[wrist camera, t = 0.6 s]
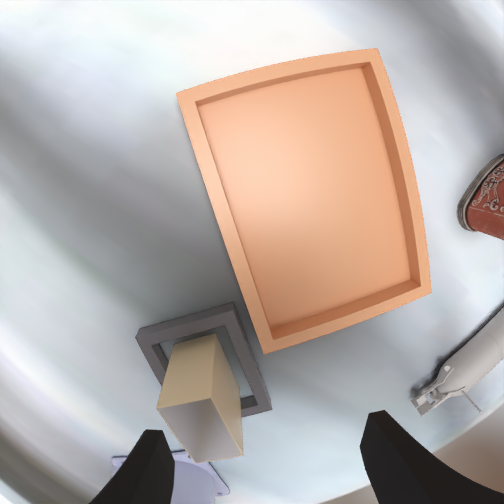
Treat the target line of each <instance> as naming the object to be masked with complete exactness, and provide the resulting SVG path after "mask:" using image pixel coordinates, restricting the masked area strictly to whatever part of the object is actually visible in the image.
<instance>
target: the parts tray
mask: <svg viewBox="0 0 504 504" xmlns="http://www.w3.org/2000/svg"><path fill="white" fill-rule="evenodd" d="M176 96H177V99H178V102H179V105H180V108H181V112H182V115H183V118H184V121H185V124H186V127H187V130H188V134H189V137H190V140H191V143H192V146H193V149H194V152H195V155H196V158H197V162H198V165H199V168H200V171H201V174H202V177H203V180H204V183H205V186H206V189H207V192H208V195H209V198H210V201H211V204H212V207H213V210H214V213H215V216H216V219H217V222H218V225H219V228H220V231H221V234H222V237H223V240H224V242H225V245H226V248H227V251H228V254H229V257H230V260H231V263H232V266H233V269H234V271H235V274H236V277H237V280H238V283H239V286H240V289H241V292H242V294H243V297H244V300H245V303H246V306H247V309H248V311H249V314H250V317H251V320H252V323H253V325H254V328H255V331H256V334H257V337H258V339H259V342H260V345H261V348H262V350H263V353H264V354H267V353H271V352H274V351H277V350H281V349H284V348H287V347H290V346H293V345H296V344H299V343H303V342H306V341H309V340H312V339H315V338H318V337H320V336H323V335H326V334H329V333H332V332H335V331H338V330H340V329H343V328H346V327H349V326H351V325H354V324H357V323H359V322H362V321H365V320H367V319H370V318H372V317H375V316H378V315H380V314H383V313H385V312H388V311H390V310H393V309H395V308H397V307H400V306H402V305H405V304H407V303H409V302H412V301H414V300H416V299H419V298H421V297H423V296H426V295H428V294H430V293H431V280H430V269H429V259H428V250H427V242H426V234H425V227H424V220H423V214H422V208H421V202H420V197H419V191H418V186H417V181H416V176H415V172H414V167H413V163H412V158H411V154H410V150H409V146H408V142H407V138H406V134H405V130H404V127H403V123H402V120H401V116H400V113H399V109H398V106H397V103H396V100H395V96H394V93H393V90H392V87H391V84H390V81H389V78H388V76H387V73H386V70H385V67H384V64H383V62H382V59H381V56H380V54H379V51H378V49H377V48H374V49H364V50H355V51H347V52H340V53H333V54H326V55H320V56H314V57H308V58H303V59H298V60H293V61H288V62H283V63H279V64H274V65H270V66H265V67H261V68H257V69H253V70H249V71H246V72H242V73H238V74H235V75H231V76H227V77H224V78H221V79H217V80H214V81H211V82H208V83H204V84H201V85H198V86H195V87H192V88H189V89H186V90H184V91H181V92H178V93H176Z"/></svg>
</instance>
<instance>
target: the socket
mask: <svg viewBox="0 0 504 504" xmlns="http://www.w3.org/2000/svg"><path fill="white" fill-rule="evenodd" d="M224 325H225V327H226V329H227V332H228V334H229V337H230V339H231V342H232V344H233V347H234V349H235V351H236V354H237V356H238V359H239V361H240V364H241V366H242V368H243V371H244V373H245V375H246V378H247V380H248V383H249V385H250V387H251V390H252V392H253V394H254V396H251V397H247V398H243V399H240V401H241V418H242V417H246V416H250V415H254V414H258V413H262V412H266V411H269V410H272V406H271V400H270V397H269V395H268V392H267V389H266V387H265V384H264V382H263V379H262V377H261V374H260V372H259V369H258V367H257V364H256V361H255V359H254V356H253V354H252V351H251V348H250V346H249V343H248V340H247V338H246V335H245V333H244V330H243V327H242V325H241V322H240V319H239V317H238V314H237V311H236V308H235V306H234V303H233V302H231V303H228V304H224V305H221V306H218V307H214V308H211V309H208V310H204V311H201V312H197V313H194V314H191V315H187V316H184V317H180V318H177V319H173V320H169V321H166V322H162V323H159V324H155V325H151V326H148V327H144V328H140V329H139V331H138V333H137V335H136V337H135V338H136V340H137V342H138V344H139V346H140V348H141V350H142V352H143V354H144V356H145V357H146V359H147V361H148V363H149V365H150V367H151V368H152V370H153V372H154V374H155V376H156V377H157V379H158V381H159V383H160V384H161V386H162V385H163V382H164V378H165V375H166V371H167V367H168V364H169V363H168V361H167V359H166V357H165V355H164V353H163V351H162V349H161V347H160V345H159V343H161V342H165V341H169V340H173V339H177V338H181V337H184V336H188V335H192V334H195V333H199V332H203V331H206V330H210V329H213V328H217V327H220V326H224Z"/></svg>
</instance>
